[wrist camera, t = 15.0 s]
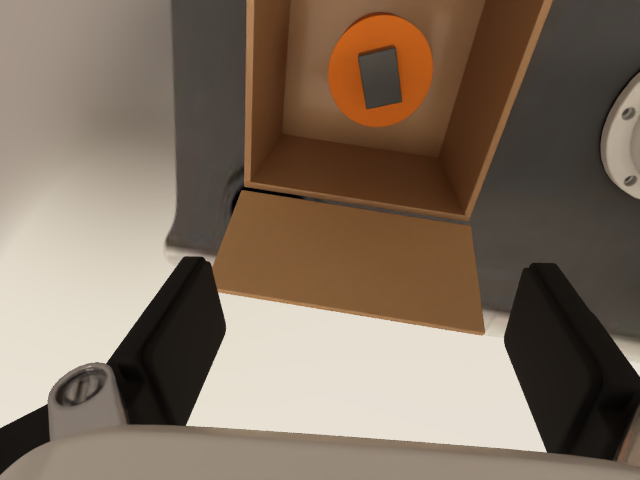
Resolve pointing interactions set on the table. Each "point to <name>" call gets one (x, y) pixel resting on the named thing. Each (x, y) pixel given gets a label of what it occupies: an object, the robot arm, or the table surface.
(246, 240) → the flap
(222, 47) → the table surface
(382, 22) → the orange cylinder
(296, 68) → the carton
